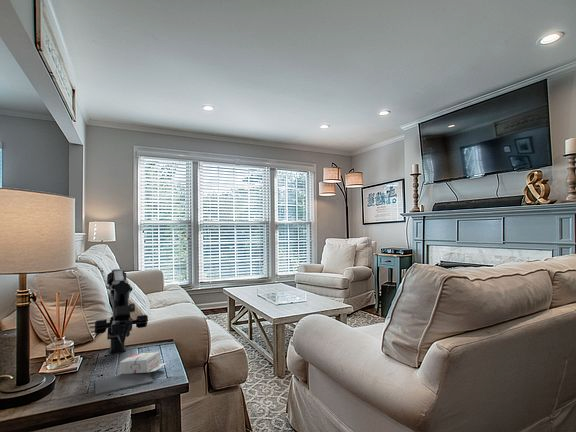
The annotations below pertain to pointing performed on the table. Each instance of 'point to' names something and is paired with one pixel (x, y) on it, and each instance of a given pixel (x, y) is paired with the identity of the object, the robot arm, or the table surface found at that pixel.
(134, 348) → the table surface
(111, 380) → the charcoal mat
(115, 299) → the robot arm
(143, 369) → the ink cartridge box
